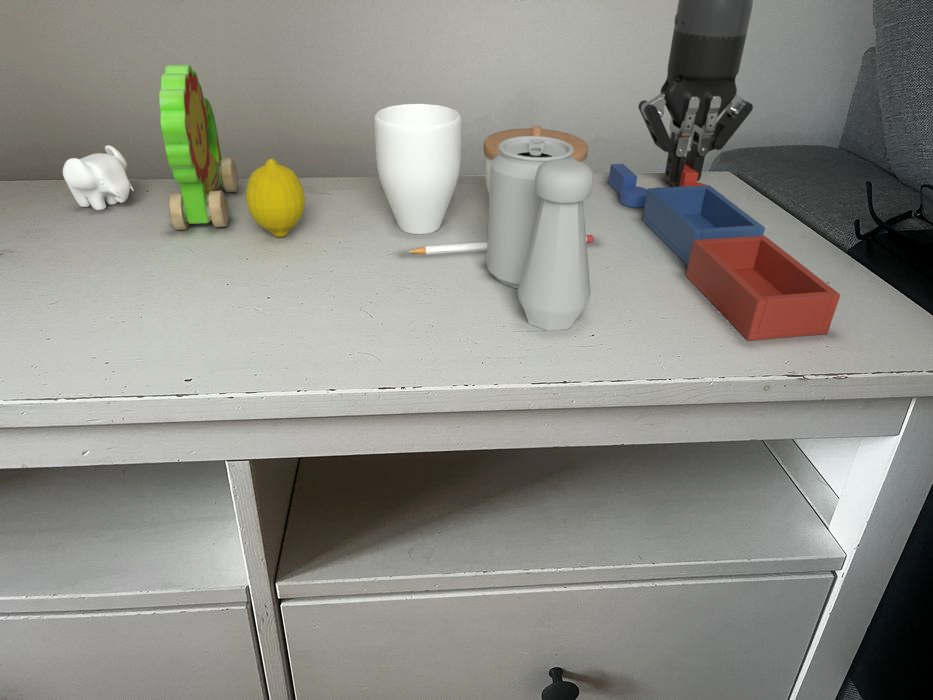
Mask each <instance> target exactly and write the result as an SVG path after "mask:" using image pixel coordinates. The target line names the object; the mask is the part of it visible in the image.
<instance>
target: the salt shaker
mask: <svg viewBox="0 0 933 700" xmlns="http://www.w3.org/2000/svg"><path fill="white" fill-rule="evenodd" d="M594 181H595V179H594V171H593V170H592V169H591V168H590V166H588V165H587V164H586V162H585V163H582V162H579V161H575V160H569V159H554V160H548V161H546V162H544V163H542V164H541V165H540V166H539V167H538V169H537V172H536V176H535V186H534V188H535V192H536V193H537V195H538V196H539V197H541V202H540V206H539V210H538V214H537V218H536V222H535V226H534V230H533V234H532V238H531V242H530V246H529V250H528V254H527V258H526V262H525V266H524V270H523V274H522V277H521V281H520V285H519V288H517V299H518V301H519V302H520V305H521V306H522V308H523V311H524V314H525V316H526V319H527V322H528V324H529V325H531V326H534V327H536V328H539V329H541V330H544V331H546V332H552V331H554V332H555V331H563V330H570V328H571V327H572V326H573V324H574V323H575V321H576V320H577V318H579V316H580V315H581V314H582V313H583V312H584V310H585V309H586V308H587V306H588V304H589V301H590V296H591V283H590V270H589V258H588V257H589V256H588V245H587V244H588V243H586V235H587V233H586V232H587V231H586V218H585V207H584V206H585V205H584V201H585V200H587V199H589V198H590V197H591V194H592V191H593V186H594Z"/></svg>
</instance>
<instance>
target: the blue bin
mask: <svg viewBox="0 0 933 700" xmlns="http://www.w3.org/2000/svg"><path fill="white" fill-rule="evenodd" d="M647 189H648V190H647V196H646V202H645V207H643V208H644V209H643V215H642V222H644V224H645V225H647V226H648V228H650V230H652V232H653V233H654V234H655V235H656V236H657V237H658V238H659V239H660V240H661V241H662V242H663V243H664V244H665V245H666V246H667V247H668V248H669V249H670V250H671V251H672V252H673V253H674V254H675V255H676V256H677V258H679V259H680V260H681V261H682V262H683V263H684V264H685V265H686V267H688V264H689V259H690V254H691V250H692V245H693V240H702V239H718V238H734V237H750V236H765V235H764V234H765V231H766V227H765V226H764V225H762V224H761V223H760V222H758V221H757V220H756V219H755V218H753V217H752V216H751V215H749V214H748V213H747V212H746V211H744V210H742V208H740V207H739V206H737V204H735V203H734V202H732V201H731V200H729V199H728V198H727V197H726V196H724V195H723V194H722V193H720V192H719V191H718V190H716V188H714V187H713V186H711V185H708V184H706V185H705V186H684V187H673V186H669V187H668V186H666V187H665V186H664V187H648V188H647Z"/></svg>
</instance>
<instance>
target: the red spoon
mask: <svg viewBox="0 0 933 700" xmlns="http://www.w3.org/2000/svg"><path fill="white" fill-rule="evenodd" d="M698 174H699V173H698V172H697V171H695V170H692V169H691V168H690V167H688V166H687V165H686V164H685V166H684V170H682V173H681V178H680V184H679V186H678V187H684V186H705V185H707V184H706V183H703V182H698V181H697V179H698ZM666 181H667V182H668V180H667V179H666Z"/></svg>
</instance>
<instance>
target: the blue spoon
mask: <svg viewBox="0 0 933 700" xmlns="http://www.w3.org/2000/svg"><path fill="white" fill-rule="evenodd" d="M637 181H638V176H637V174H635V173H634V172H633V171H632V170H631V169H630V168H629V167H627V166H626V165H625V164H624V163H611V164H610V167H609V175H608V182H607V183H608V185H609V186H610V188H612V189H613V190H614V191H615V192H616V193H617V194H618V195H619V203H620V204H621V205H623V206H625V207H628V208H638V209H639V208H645V202H646V196H647V190H648V188H646V187H643V186H638V185H637Z"/></svg>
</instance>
